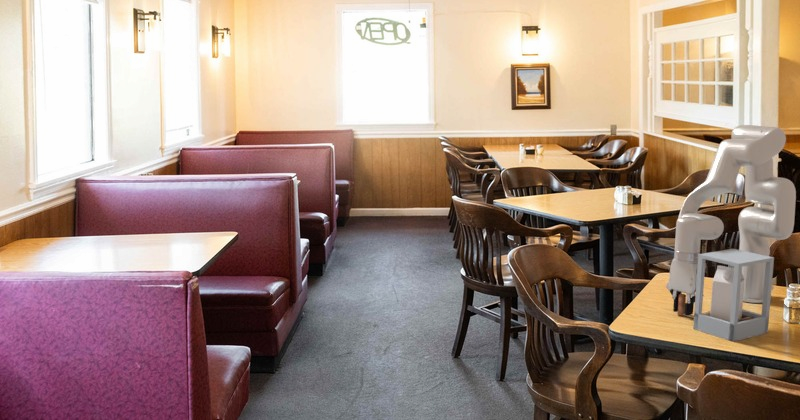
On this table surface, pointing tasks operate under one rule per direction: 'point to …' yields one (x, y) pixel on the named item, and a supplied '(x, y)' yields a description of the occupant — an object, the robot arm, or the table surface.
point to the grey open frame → (734, 297)
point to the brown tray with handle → (682, 312)
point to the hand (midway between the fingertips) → (683, 312)
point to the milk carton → (724, 293)
